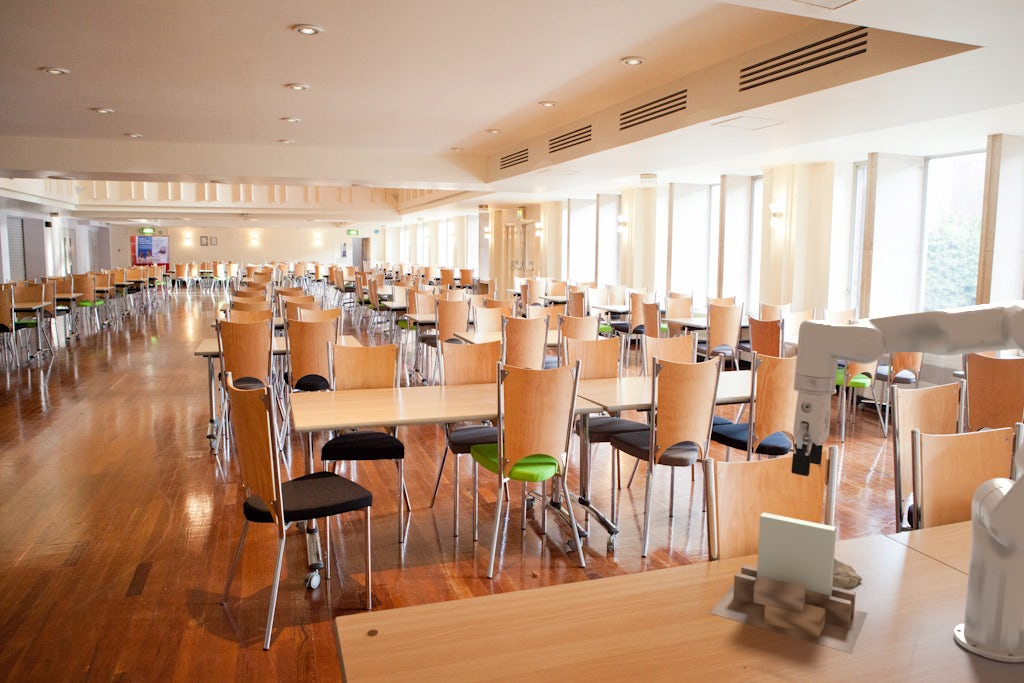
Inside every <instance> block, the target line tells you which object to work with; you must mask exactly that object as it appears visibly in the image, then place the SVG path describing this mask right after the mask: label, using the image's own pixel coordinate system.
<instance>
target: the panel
mask: <svg viewBox="0 0 1024 683" xmlns="http://www.w3.org/2000/svg"><path fill="white" fill-rule="evenodd" d="M758 525H759V527H758V528H759V529H758V530H759V531H758V547H757V548H758V549H757V563H756V564H757V565H756V566H757V567H756V568H757V577H762V578H768V579H773V580H778V581H783V582H789V583H794V584H799V585H805V586H806V590H808V591H812V592H816V593H820V594H824V595H828V596H832V584H833V568H834V559H835V553H836V551H835V549H836V537H837V534H836V533H837V526H833V525H829V524H828V525H827V524H825V523H823V524H822V523H818V522H817V523H816V522H814V521H813V522H812V521H808V520H803V519H797V518H794V517H788V516H783V515H779V514H772V513H768V512H762V513H761V514H760V516H759V524H758Z"/></svg>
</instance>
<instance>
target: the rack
mask: <svg viewBox="0 0 1024 683" xmlns="http://www.w3.org/2000/svg"><path fill="white" fill-rule="evenodd" d="M733 578H734V580H733V584H732V586H730V588H729V589H728V590H727V591H726V592H725V594H724V595H723V596H722V597H721V599H720V600H719V601H718V602H717V603H716V604H715V606H714V607H713V608H712V609H711V610H710V611H709V614H711V615H714V616H718V617H720V618H721V617H722V618H724V619H727V620H732V621H736V622H738V623H739V622H740V623H742V624H747V625H749V626H753V627H755V628H756V627H757V628H760V629H763V630H767V631H771V632H775V633H778V634H782V635H785V636H789V637H792V638H796V639H799V640H802V641H806V642H810V643H814V644H817V645H820V646H823V647H826V648H830V649H834V650H837V651H841V652H844V653H848V654H852V652H853V651H854V650H853V649H854V648H855V645H856V644H857V640H858V638H859V635H860V632H861V631H862V630H861V629H862V628H863V625H864V622H865V620H866V619H867V615H868V612H865V611H861V610H857V609H855V608H856V591H853V590H848V589H847V588H837V587H833V586H832V596H828V595H824V594H820V593H816V592H812V591H808V590H806V592H805V604H808V605H812V606H816V607H820V608H824V609H826V610H825V625H824V628H823V630H822V632H821V634H820V636H819V637H816V636H812V635H809V634H805V633H801V632H798V631H794V630H791V629H787V628H783V627H780V626H776V625H773V624H769V623H766V622H764V616H765V605H763V604H758V603H753V601H754V585H755V582H756V579H757V567H754V566H750V565H745V564H743V565H742V566H741V569H740V573H739V572H736V573H735V574H734V577H733Z"/></svg>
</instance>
